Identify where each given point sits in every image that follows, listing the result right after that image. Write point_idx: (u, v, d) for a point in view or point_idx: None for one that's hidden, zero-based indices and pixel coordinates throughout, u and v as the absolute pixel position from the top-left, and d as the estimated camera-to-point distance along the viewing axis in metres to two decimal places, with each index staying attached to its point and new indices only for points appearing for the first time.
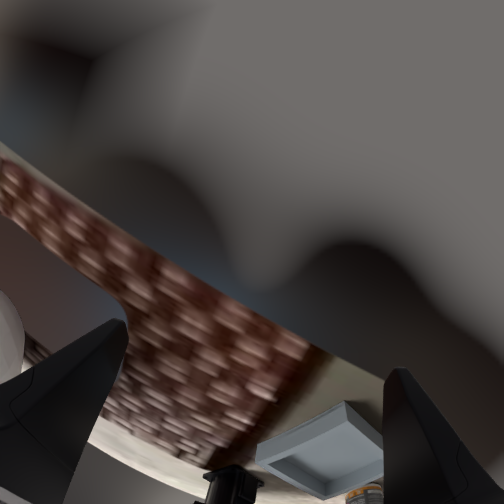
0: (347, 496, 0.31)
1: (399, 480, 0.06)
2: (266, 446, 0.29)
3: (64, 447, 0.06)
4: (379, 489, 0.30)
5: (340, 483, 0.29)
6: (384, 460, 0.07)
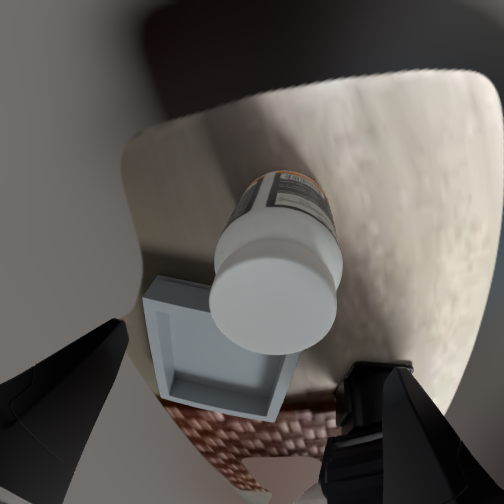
0: None
1: (399, 480, 0.06)
2: None
3: (64, 447, 0.06)
4: None
5: None
6: (384, 460, 0.07)
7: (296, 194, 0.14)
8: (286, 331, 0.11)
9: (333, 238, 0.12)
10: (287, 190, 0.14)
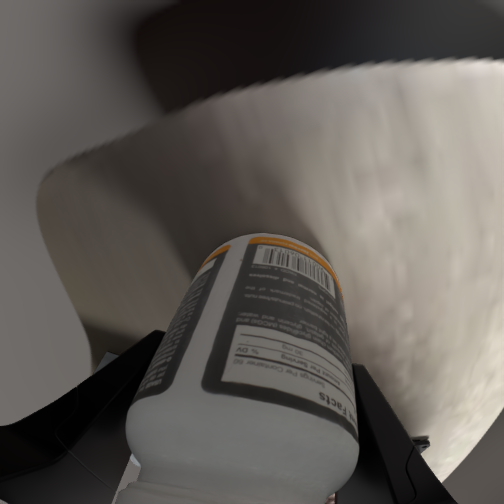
0: None
1: (350, 483, 0.06)
2: None
3: (109, 469, 0.06)
4: None
5: None
6: None
7: (278, 324, 0.06)
8: None
9: (347, 438, 0.05)
10: (260, 313, 0.07)
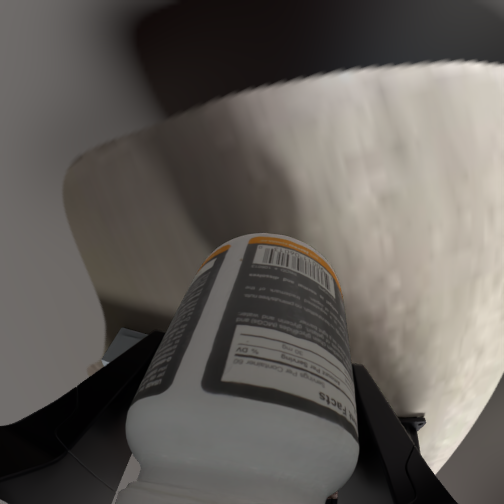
0: None
1: (350, 483, 0.06)
2: None
3: (109, 469, 0.06)
4: None
5: None
6: None
7: (278, 324, 0.06)
8: None
9: (347, 438, 0.05)
10: (260, 312, 0.07)
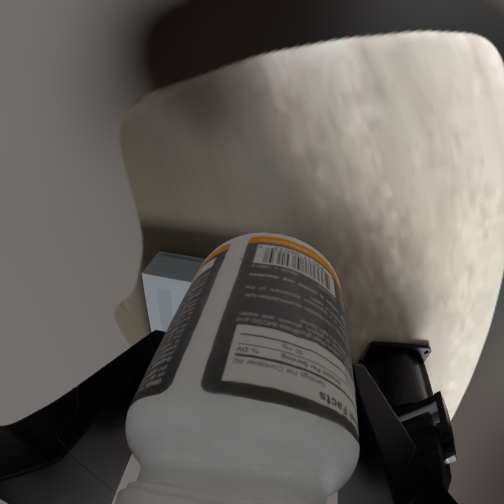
0: None
1: (350, 483, 0.06)
2: None
3: (109, 469, 0.06)
4: None
5: None
6: None
7: (278, 324, 0.06)
8: None
9: (347, 437, 0.05)
10: (260, 311, 0.07)
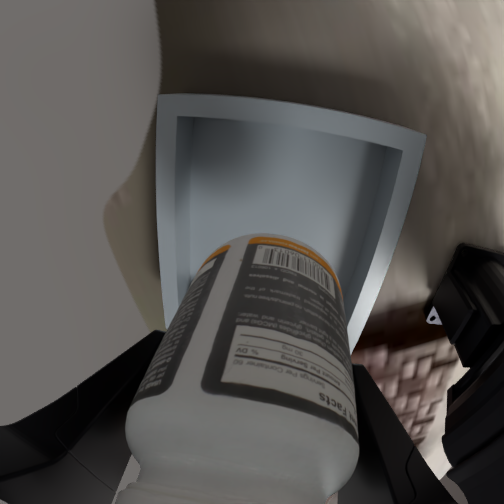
0: None
1: (350, 483, 0.06)
2: None
3: (109, 469, 0.06)
4: None
5: None
6: None
7: (278, 325, 0.06)
8: None
9: (347, 438, 0.05)
10: (260, 313, 0.07)
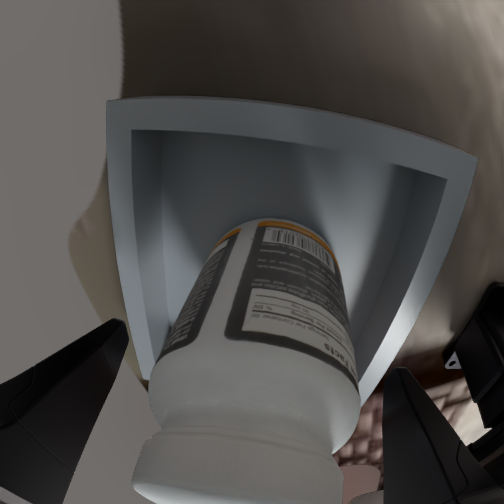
0: None
1: (399, 480, 0.06)
2: None
3: (64, 447, 0.06)
4: None
5: None
6: (384, 460, 0.07)
7: (288, 288, 0.08)
8: None
9: (350, 386, 0.06)
10: (271, 279, 0.08)
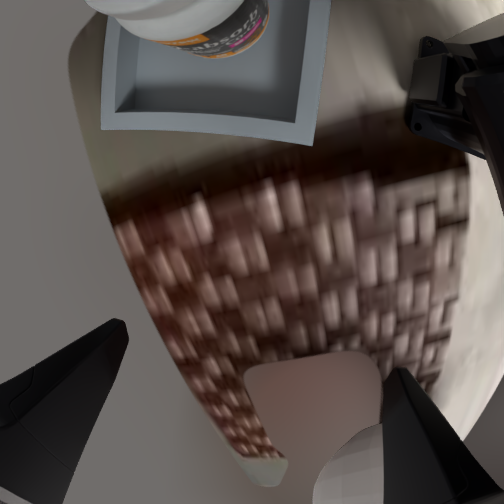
0: (241, 49, 0.13)
1: (399, 480, 0.06)
2: None
3: (64, 447, 0.06)
4: None
5: None
6: (384, 460, 0.07)
7: None
8: None
9: None
10: None
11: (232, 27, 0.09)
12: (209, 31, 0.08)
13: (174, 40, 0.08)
